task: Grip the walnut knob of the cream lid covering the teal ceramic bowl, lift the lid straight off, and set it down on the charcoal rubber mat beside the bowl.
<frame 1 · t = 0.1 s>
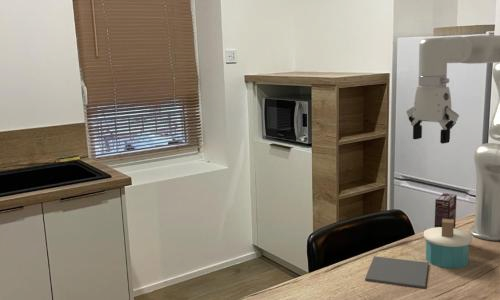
hand: (430, 140, 143), 37 cm above the table, tool pointing down, fingers open, 9 cm apart
supplement box: (444, 243, 162), on the table
mat: (397, 272, 142), on the table
bowl: (446, 259, 149), on the table
lid: (447, 238, 147), point 7 cm above the table, touching bowl
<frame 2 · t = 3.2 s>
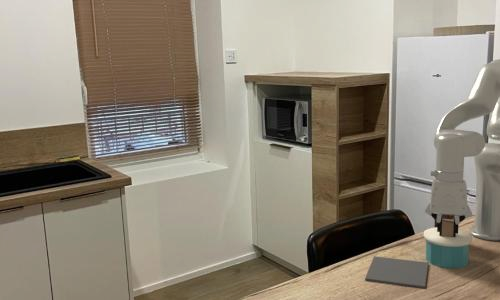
hand: (447, 234, 147), 8 cm above the table, tool pointing down, fingers closed on lid, 3 cm apart
lid: (447, 238, 147), point 7 cm above the table, touching bowl, gripper
everything else where it was.
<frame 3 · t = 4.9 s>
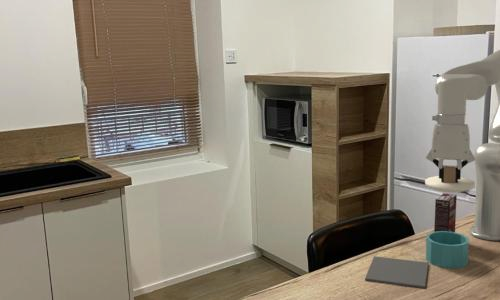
hand: (449, 180, 144), 25 cm above the table, tool pointing down, fingers closed on lid, 3 cm apart
lid: (449, 184, 144), point 24 cm above the table, touching gripper
everything else where it was.
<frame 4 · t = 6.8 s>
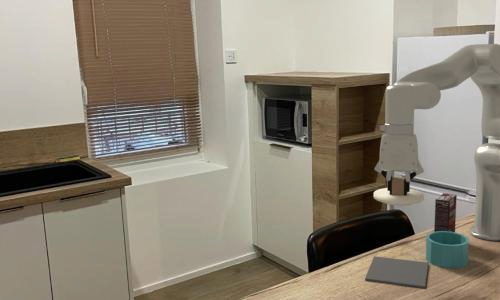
hand: (398, 193, 137), 24 cm above the table, tool pointing down, fingers closed on lid, 3 cm apart
lid: (398, 197, 138), point 23 cm above the table, touching gripper
everything else where it was.
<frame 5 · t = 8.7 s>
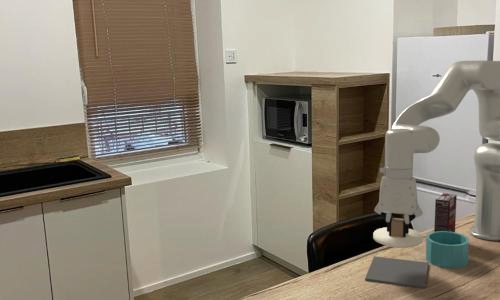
hand: (397, 234, 140), 12 cm above the table, tool pointing down, fingers closed on lid, 3 cm apart
lid: (397, 238, 140), point 11 cm above the table, touching gripper
everything else where it was.
when the fingers open (5 cm above the table, at t = 10.4 s): lid drops 2 cm, resting on mat.
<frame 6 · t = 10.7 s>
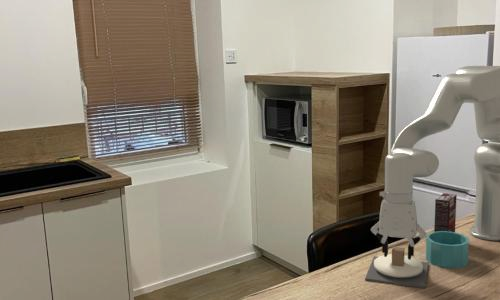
hand: (397, 255, 141), 5 cm above the table, tool pointing down, fingers open, 6 cm apart
lid: (397, 266, 142), point 2 cm above the table, touching mat
everything else where it was.
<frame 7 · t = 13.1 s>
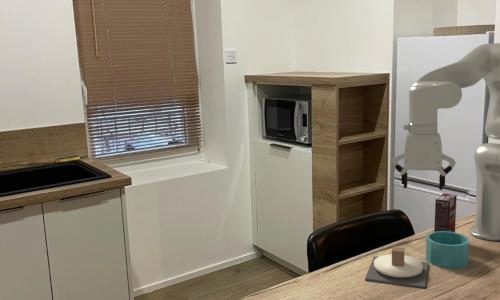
hand: (423, 187, 140), 24 cm above the table, tool pointing down, fingers open, 9 cm apart
nothing on the table moved.
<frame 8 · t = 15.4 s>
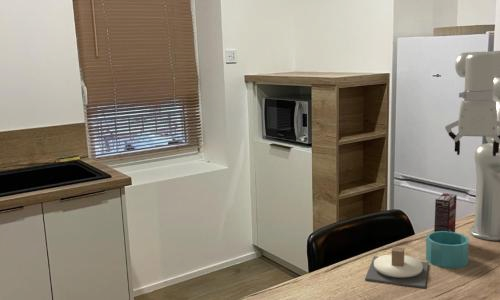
hand: (476, 154, 143), 32 cm above the table, tool pointing down, fingers open, 9 cm apart
nothing on the table moved.
at the end: lid inside the target area on the mat (0.1 cm from its centre), point 1.6 cm above the mat's base; lid touching mat; the gripper is holding nothing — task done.
